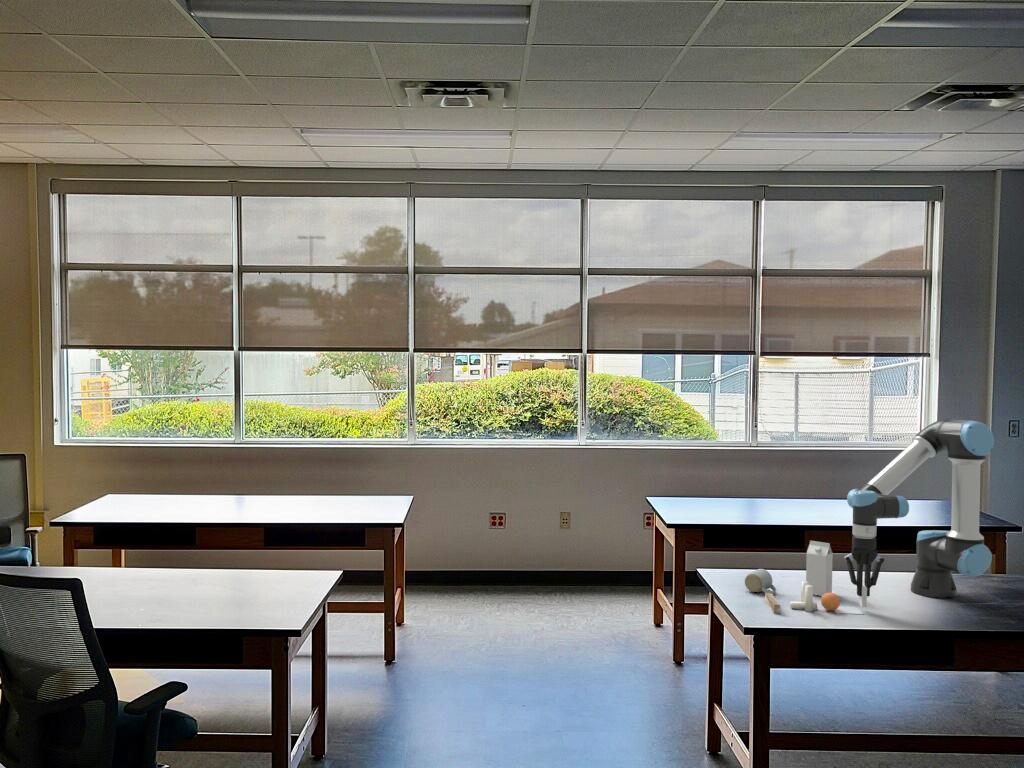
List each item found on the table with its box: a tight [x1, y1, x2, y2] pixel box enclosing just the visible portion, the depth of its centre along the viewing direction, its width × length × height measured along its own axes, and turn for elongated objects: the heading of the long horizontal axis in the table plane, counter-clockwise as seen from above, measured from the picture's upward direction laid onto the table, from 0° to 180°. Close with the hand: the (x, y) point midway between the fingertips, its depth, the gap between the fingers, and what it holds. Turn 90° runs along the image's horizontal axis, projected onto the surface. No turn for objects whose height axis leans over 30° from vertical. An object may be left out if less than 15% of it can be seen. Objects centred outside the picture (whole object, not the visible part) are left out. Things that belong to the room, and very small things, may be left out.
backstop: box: [764, 593, 781, 615], centre depth 272 cm, size 2×14×3 cm, turn 174°
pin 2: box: [804, 585, 814, 613], centre depth 269 cm, size 2×2×8 cm
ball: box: [820, 592, 841, 612], centre depth 270 cm, size 6×6×6 cm
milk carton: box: [805, 540, 834, 597], centre depth 290 cm, size 7×7×19 cm
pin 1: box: [800, 580, 809, 602], centre depth 274 cm, size 2×2×8 cm
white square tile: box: [833, 605, 864, 615], centre depth 270 cm, size 9×8×1 cm
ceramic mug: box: [744, 568, 777, 595], centre depth 292 cm, size 11×8×8 cm
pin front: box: [789, 601, 818, 611], centre depth 271 cm, size 2×2×8 cm
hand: (863, 605), depth 269 cm, fingers closed
